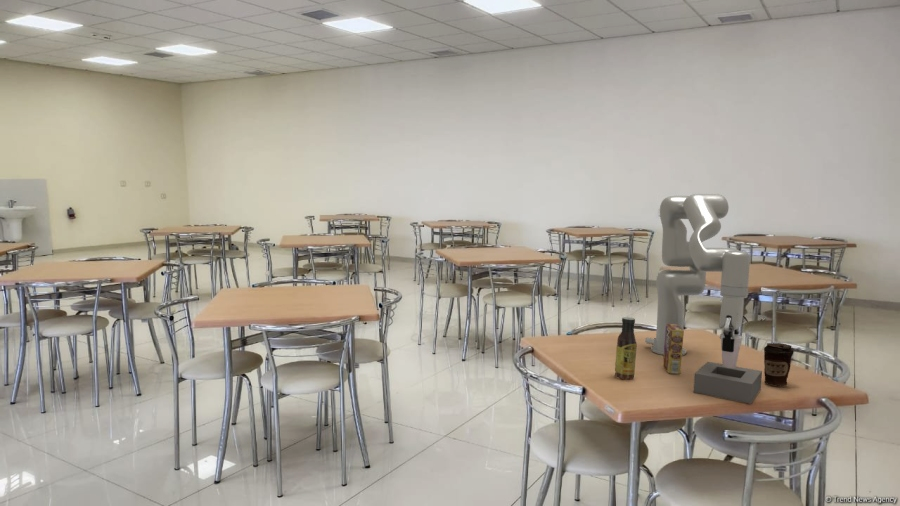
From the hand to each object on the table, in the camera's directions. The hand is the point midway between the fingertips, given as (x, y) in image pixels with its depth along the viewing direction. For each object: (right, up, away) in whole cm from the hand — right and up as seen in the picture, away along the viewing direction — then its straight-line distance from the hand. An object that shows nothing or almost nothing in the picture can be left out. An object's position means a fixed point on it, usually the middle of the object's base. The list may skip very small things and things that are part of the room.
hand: (730, 348), depth 183 cm
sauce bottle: (-28, -12, +14) cm, 34 cm away
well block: (0, -13, +2) cm, 14 cm away
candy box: (-10, -11, +22) cm, 27 cm away
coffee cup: (+19, -13, +9) cm, 24 cm away
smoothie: (0, -6, +1) cm, 6 cm away
